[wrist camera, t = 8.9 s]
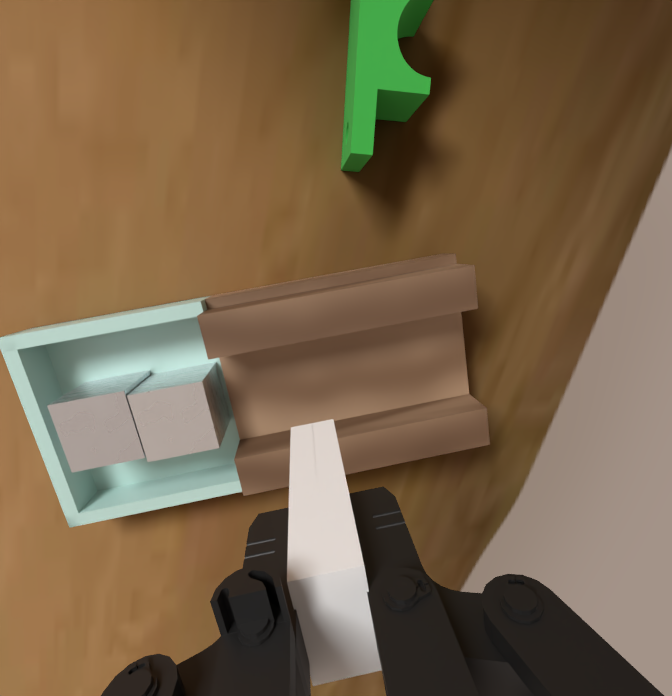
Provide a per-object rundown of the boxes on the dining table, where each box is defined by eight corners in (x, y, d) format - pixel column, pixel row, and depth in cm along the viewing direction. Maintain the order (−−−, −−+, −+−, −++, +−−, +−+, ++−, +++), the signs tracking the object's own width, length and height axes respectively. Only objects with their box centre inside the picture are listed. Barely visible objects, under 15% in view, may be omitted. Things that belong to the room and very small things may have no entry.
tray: (31, 328, 25) (-4, 338, 22) (211, 295, 25) (200, 301, 22) (93, 498, 28) (69, 527, 25) (253, 465, 28) (248, 490, 25)
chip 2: (152, 373, 25) (126, 395, 22) (216, 361, 26) (201, 381, 22) (169, 431, 26) (148, 462, 23) (230, 419, 27) (219, 448, 23)
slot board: (211, 295, 25) (193, 304, 21) (443, 253, 26) (473, 253, 22) (253, 465, 28) (245, 504, 24) (461, 423, 29) (490, 453, 25)
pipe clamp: (400, 176, 25) (423, 160, 21) (340, 171, 25) (350, 154, 20) (420, -40, 22) (450, -112, 18) (353, -50, 22) (367, -125, 18)
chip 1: (85, 381, 25) (47, 405, 21) (150, 369, 25) (123, 390, 22) (105, 440, 26) (71, 472, 22) (167, 427, 26) (145, 457, 22)
